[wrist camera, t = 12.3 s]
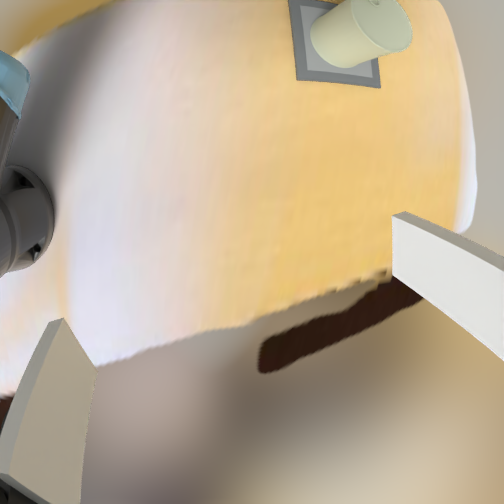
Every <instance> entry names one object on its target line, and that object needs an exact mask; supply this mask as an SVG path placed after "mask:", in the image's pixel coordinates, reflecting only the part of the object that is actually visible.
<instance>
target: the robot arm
mask: <svg viewBox="0 0 504 504" xmlns="http://www.w3.org/2000/svg"><path fill="white" fill-rule="evenodd" d="M29 86H30V75H29V72H28V70H27V69H26V67H25V66H24V65H23V64H22V63H20V62H19V61H18V60H16V59H15V58H13V57H12V56H10V55H8V54H6V53H4V52H3V51H1V50H0V278H1V277H2V276H3V275H4V274H5V273H8V272H12V271H17V270H21V269H24V268H27V267H29V266H30V265H32V264H33V263H35V262H36V261H37V260H38V259H39V258H40V257H41V256H42V255H43V254H44V252H45V251H46V249H47V248H48V246H49V244H50V241H51V238H52V234H53V228H54V213H53V207H52V202H51V199H50V196H49V194H48V191H47V189H46V187H45V186H44V184H43V183H42V181H41V180H40V179H39V178H38V176H36V175H35V174H34V173H33V172H32V171H30V170H28V169H27V168H24V167H21V166H7V167H5V166H6V162H7V158H8V154H9V150H10V147H11V143H12V140H13V136H14V133H15V130H16V127H17V124H18V121H19V120H20V119H21V110H22V107H23V104H24V101H25V98H26V95H27V92H28V89H29ZM392 237H393V272H392V275H393V276H395V277H396V278H398V279H399V280H400V281H402V282H403V283H405V284H406V285H407V286H409V287H410V288H411V289H413V290H414V291H416V292H417V293H418V294H420V295H421V296H422V297H424V298H425V299H426V300H428V301H429V302H431V303H432V304H433V305H435V306H436V307H437V308H439V309H440V310H441V311H442V312H444V313H445V314H446V315H448V316H449V317H450V318H451V319H453V320H454V321H455V322H457V323H458V324H459V325H460V326H462V327H463V328H464V329H465V330H467V331H468V332H469V333H471V334H472V335H473V336H474V337H476V338H477V339H478V340H479V341H480V342H482V343H483V344H484V345H485V346H487V347H488V348H489V349H490V350H491V351H493V352H494V353H495V354H496V355H497V356H498V357H500V358H501V359H502V360H503V361H504V257H503V256H501V255H499V254H497V253H495V252H493V251H491V250H489V249H487V248H485V247H483V246H481V245H479V244H477V243H475V242H473V241H471V240H469V239H467V238H465V237H463V236H461V235H459V234H456V233H454V232H452V231H450V230H448V229H445V228H443V227H441V226H439V225H436V224H434V223H432V222H430V221H427V220H425V219H423V218H420V217H418V216H415V215H413V214H411V213H408V212H406V211H405V212H402V213H399V214H396V215H392ZM97 373H98V371H97V369H96V368H95V366H94V365H93V363H92V362H91V360H90V359H89V358H88V356H87V355H86V353H85V351H84V350H83V348H82V347H81V345H80V344H79V342H78V340H77V339H76V337H75V336H74V334H73V332H72V331H71V329H70V327H69V326H68V324H67V322H66V320H65V319H64V318H61V319H58V320H55V321H51V322H49V323H48V325H47V327H46V329H45V331H44V333H43V335H42V337H41V339H40V341H39V343H38V345H37V347H36V349H35V351H34V353H33V355H32V357H31V359H30V361H29V364H28V366H27V368H26V370H25V372H24V375H23V377H22V379H21V382H20V384H19V386H18V389H17V391H16V394H15V396H14V399H13V401H12V404H11V407H10V408H9V410H8V411H7V413H6V414H5V417H4V420H3V423H2V426H1V427H2V429H0V504H80V495H81V481H82V480H81V479H82V468H83V458H84V449H85V442H86V434H87V427H88V420H89V414H90V409H91V402H92V397H93V392H94V387H95V382H96V377H97Z"/></svg>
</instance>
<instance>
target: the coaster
mask: <svg viewBox="0 0 504 504" xmlns="http://www.w3.org/2000/svg"><path fill="white" fill-rule="evenodd" d="M288 3H289V11H290V19H291V28H292V37H293V46H294V56H295V67H296V78H297V80H302V81H319V82H331V83H342V84H351V85H359V86H366V87H373V88H381V85H380V75H379V66H378V58H374V59H371V60H368V61H365V62H362V63H360V64H358V65H356V66H354V67H351V68H340V67H336V66H334V65H331V64H329V63H328V62H326V61H325V60H324V59H323V58H321V56H320V55H319V54H318V53H317V52H316V50H315V49H314V47H313V45H312V42H311V38H310V30H311V27H312V24H313V23H314V21H315V20H316V19H318V18H319V17H321V16H323V15H325V14H326V13H328V12H329V11H330V10H332V9H333V8H335V7H336V6H337V5H338V4H333V3H328V2H323V1H317V0H288Z"/></svg>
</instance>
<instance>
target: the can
mask: <svg viewBox="0 0 504 504" xmlns="http://www.w3.org/2000/svg"><path fill="white" fill-rule="evenodd" d="M310 38H311V42H312V45H313V47H314V49H315V50H316V52H317V53H318V54H319V55H320V56H321V58H323V59H324V60H325V61H326V62H328V63H329V64H331V65H334V66H336V67H340V68H351V67H354V66H356V65H358V64H360V63H362V62H365V61H368V60H371V59H374V58H378V57H381V56H384V55H388V54H392V53H397V52H402V51H404V50H406V49H407V48H408V47H409V45H410V43H411V41H412V26H411V23H410V20H409V18H408V16H407V14H406V12H405V11H404V9H403V8H402V7H401V5H400V4H399V3H398V2H397V1H396V0H344V1H343V2H342V3H340V4H339V5H337V6H336V7H335V8H333V9H332V10H330V11H329V12H328V13H326V14H325V15H323V16H321V17H319V18H318V19H316V20H315V21H314V23H313V24H312V27H311V30H310Z"/></svg>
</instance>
